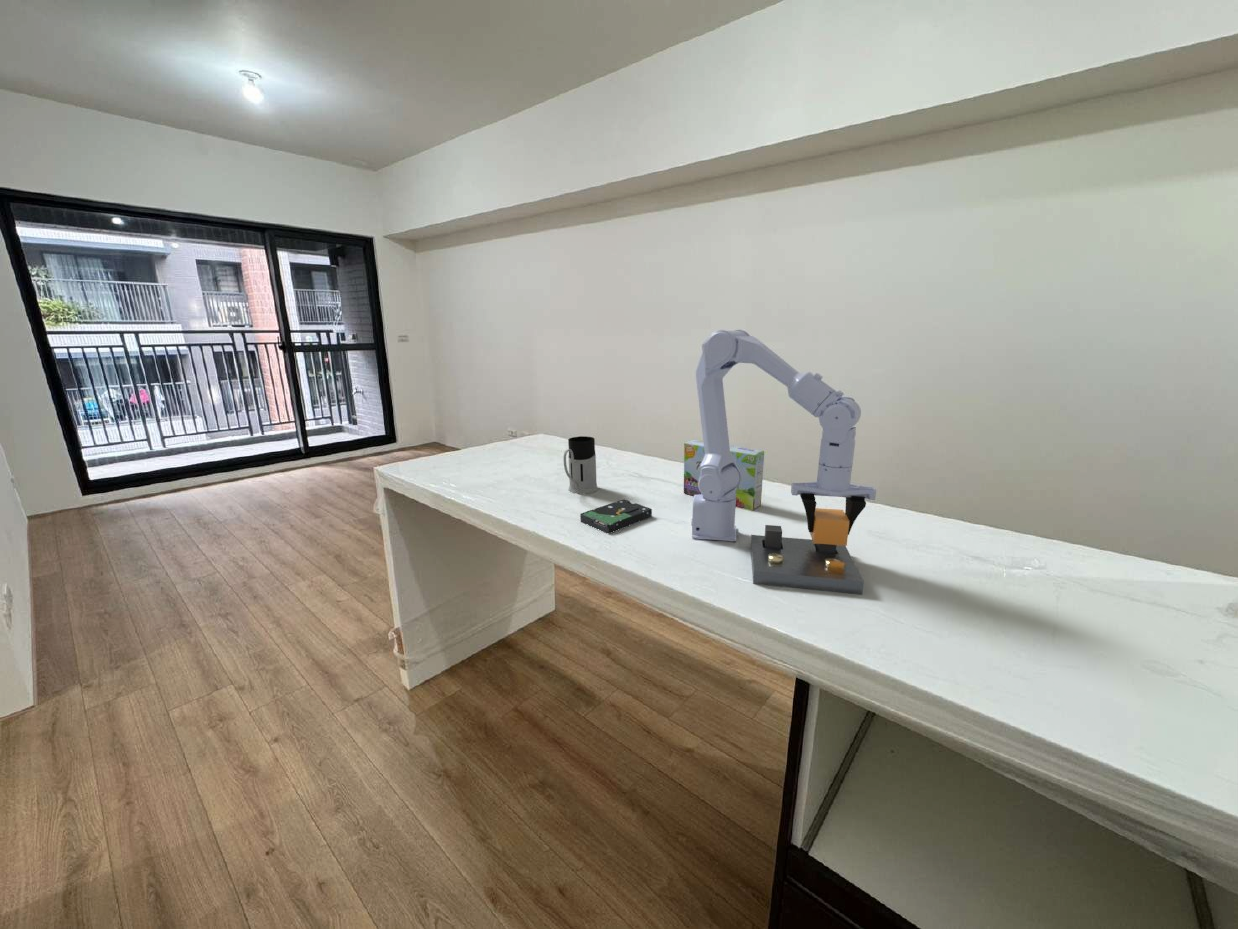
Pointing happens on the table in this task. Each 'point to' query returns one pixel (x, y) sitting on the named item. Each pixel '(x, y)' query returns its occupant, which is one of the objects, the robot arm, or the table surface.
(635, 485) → the table surface
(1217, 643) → the table surface
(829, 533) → the cap
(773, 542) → the block
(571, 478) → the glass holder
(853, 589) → the grey flat slab
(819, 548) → the dark grey block
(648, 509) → the disk drive
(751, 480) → the snack box
